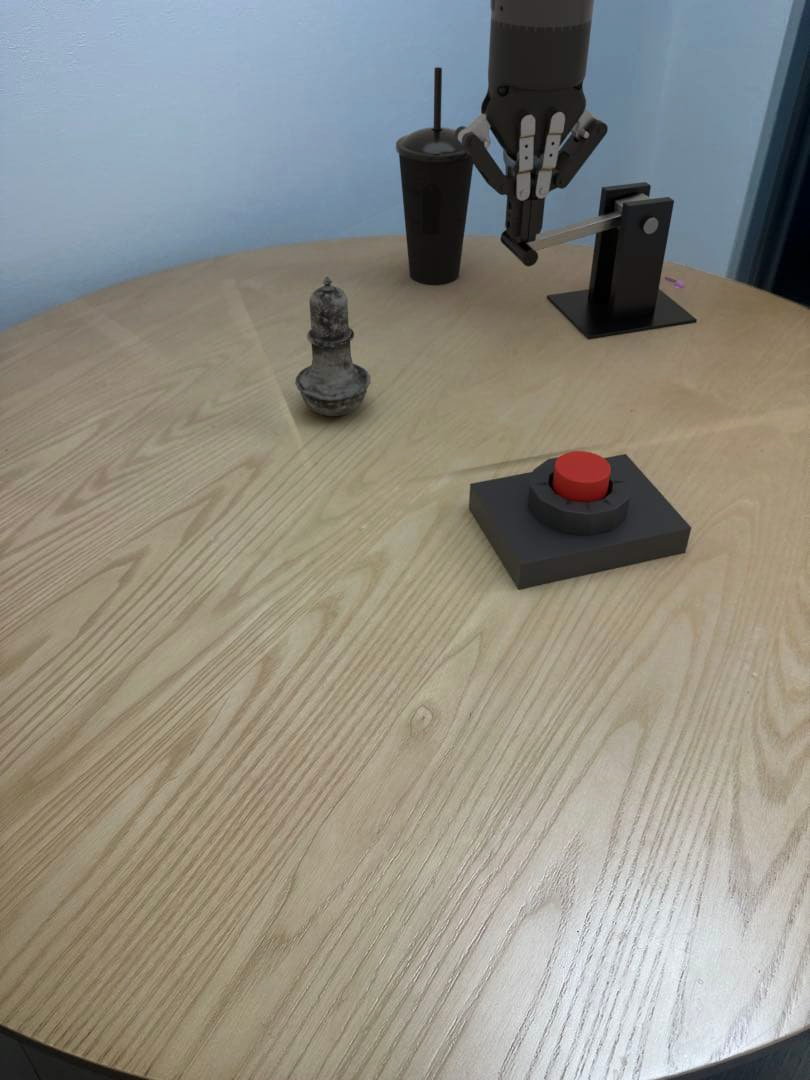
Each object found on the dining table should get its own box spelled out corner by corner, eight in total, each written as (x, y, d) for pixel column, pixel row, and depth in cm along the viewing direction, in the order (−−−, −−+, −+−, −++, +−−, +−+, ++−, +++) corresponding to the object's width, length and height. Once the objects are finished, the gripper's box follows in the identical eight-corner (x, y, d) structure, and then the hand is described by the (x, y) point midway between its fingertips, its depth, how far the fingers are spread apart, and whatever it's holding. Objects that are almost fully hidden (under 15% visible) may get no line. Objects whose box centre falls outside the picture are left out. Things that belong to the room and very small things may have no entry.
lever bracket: (586, 348, 85) (604, 218, 77) (545, 306, 91) (557, 183, 84) (694, 331, 87) (721, 203, 80) (646, 291, 94) (667, 170, 87)
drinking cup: (487, 287, 95) (499, 70, 82) (425, 305, 92) (428, 83, 79) (442, 261, 100) (447, 54, 87) (382, 279, 97) (378, 65, 84)
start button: (592, 468, 64) (595, 446, 63) (617, 498, 61) (620, 476, 60) (543, 477, 63) (546, 455, 62) (566, 508, 60) (569, 486, 59)
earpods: (665, 300, 96) (652, 290, 95) (674, 286, 96) (661, 276, 95) (681, 301, 93) (668, 291, 92) (690, 286, 93) (677, 276, 92)
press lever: (523, 273, 80) (521, 247, 79) (501, 251, 84) (499, 226, 83) (662, 233, 82) (663, 206, 81) (634, 213, 86) (635, 187, 84)
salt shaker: (286, 430, 74) (272, 286, 67) (316, 394, 79) (307, 255, 71) (355, 444, 73) (348, 299, 65) (382, 407, 77) (379, 266, 70)
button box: (621, 478, 69) (629, 432, 67) (685, 553, 63) (697, 505, 60) (468, 508, 66) (470, 461, 64) (518, 590, 60) (523, 541, 57)
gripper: (476, 27, 66) (466, 265, 77) (645, 16, 69) (612, 246, 80) (441, 7, 71) (436, 232, 82) (598, -2, 75) (573, 215, 85)
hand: (522, 238), depth 81 cm, fingers closed
